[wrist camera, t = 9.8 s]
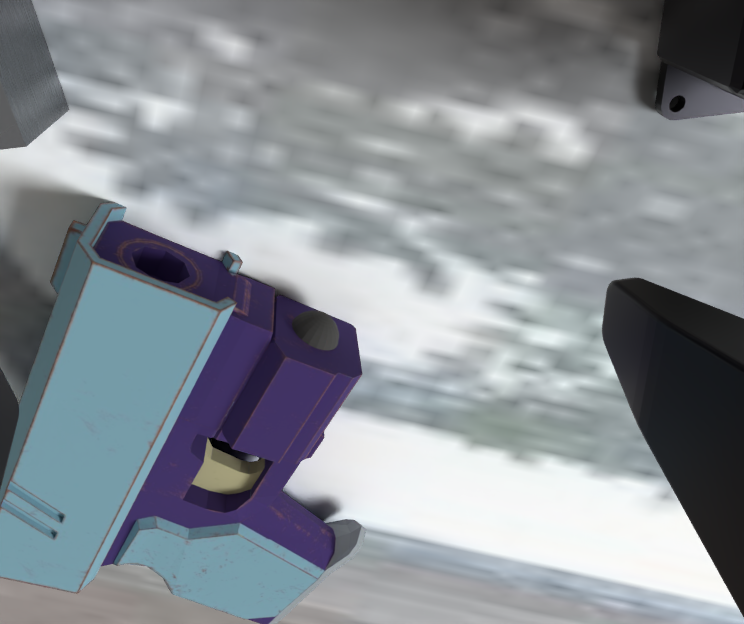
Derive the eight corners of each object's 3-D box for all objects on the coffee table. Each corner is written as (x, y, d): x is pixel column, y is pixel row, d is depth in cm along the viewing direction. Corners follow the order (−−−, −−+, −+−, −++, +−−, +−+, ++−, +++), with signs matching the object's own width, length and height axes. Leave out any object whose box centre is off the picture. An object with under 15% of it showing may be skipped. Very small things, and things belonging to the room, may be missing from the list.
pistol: (302, 571, 32) (-15, 493, 27) (472, 347, 26) (93, 188, 21) (303, 651, 29) (-60, 579, 24) (499, 417, 22) (52, 246, 17)
